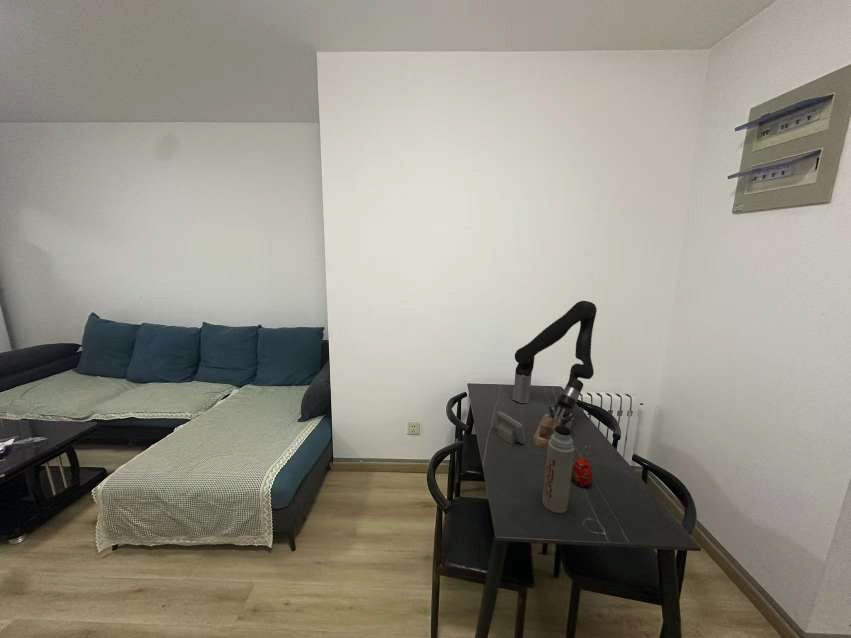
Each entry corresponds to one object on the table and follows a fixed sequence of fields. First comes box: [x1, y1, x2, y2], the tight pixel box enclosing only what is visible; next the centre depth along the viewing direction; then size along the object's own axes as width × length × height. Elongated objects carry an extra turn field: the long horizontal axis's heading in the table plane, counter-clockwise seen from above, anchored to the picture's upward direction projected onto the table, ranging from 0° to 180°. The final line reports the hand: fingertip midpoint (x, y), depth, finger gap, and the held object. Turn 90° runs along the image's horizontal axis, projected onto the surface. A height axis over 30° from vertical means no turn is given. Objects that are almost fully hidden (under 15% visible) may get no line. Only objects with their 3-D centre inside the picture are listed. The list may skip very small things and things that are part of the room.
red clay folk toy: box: [571, 444, 593, 488], centre depth 120 cm, size 8×7×15 cm
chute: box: [532, 413, 573, 450], centre depth 154 cm, size 13×28×4 cm, turn 150°
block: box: [539, 416, 562, 440], centre depth 148 cm, size 6×10×9 cm, turn 140°
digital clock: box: [495, 410, 526, 445], centre depth 150 cm, size 16×9×11 cm, turn 18°
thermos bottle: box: [542, 425, 575, 514], centre depth 107 cm, size 8×8×28 cm
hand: (553, 428), depth 153 cm, fingers closed
